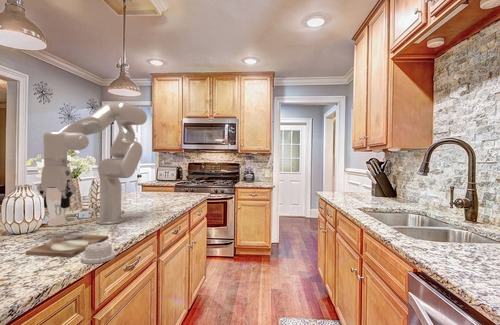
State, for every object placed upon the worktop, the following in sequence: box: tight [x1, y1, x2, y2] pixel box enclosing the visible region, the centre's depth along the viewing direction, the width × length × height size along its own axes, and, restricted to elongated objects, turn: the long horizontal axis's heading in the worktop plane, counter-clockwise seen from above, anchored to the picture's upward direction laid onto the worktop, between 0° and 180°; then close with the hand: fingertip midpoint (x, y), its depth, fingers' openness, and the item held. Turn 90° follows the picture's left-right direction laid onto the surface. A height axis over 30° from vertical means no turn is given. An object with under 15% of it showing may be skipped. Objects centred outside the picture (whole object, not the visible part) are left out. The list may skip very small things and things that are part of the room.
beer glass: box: [46, 188, 67, 227], centre depth 108 cm, size 7×7×15 cm
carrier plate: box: [25, 232, 109, 258], centre depth 98 cm, size 20×16×2 cm
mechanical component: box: [80, 241, 117, 265], centre depth 88 cm, size 10×4×10 cm
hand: (57, 207), depth 108 cm, fingers closed on beer glass, 6 cm apart
